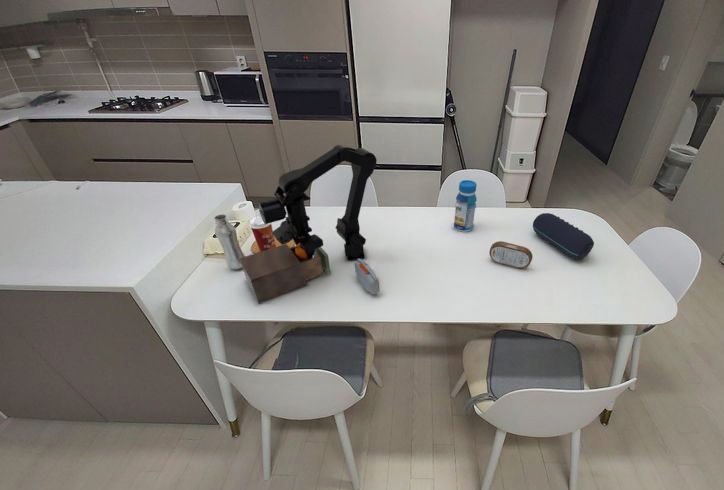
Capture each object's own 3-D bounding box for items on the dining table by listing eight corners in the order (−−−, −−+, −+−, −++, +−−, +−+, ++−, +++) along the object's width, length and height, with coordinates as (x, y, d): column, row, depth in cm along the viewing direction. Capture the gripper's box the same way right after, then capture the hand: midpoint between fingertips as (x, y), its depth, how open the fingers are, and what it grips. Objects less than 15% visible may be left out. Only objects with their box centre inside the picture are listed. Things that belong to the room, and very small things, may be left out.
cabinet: (291, 266, 126) (286, 243, 121) (306, 285, 117) (300, 262, 112) (247, 281, 119) (239, 258, 113) (258, 303, 110) (250, 280, 104)
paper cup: (273, 259, 130) (263, 226, 121) (254, 256, 131) (243, 224, 122) (283, 247, 136) (275, 215, 127) (265, 245, 137) (255, 213, 129)
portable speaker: (593, 259, 130) (602, 236, 125) (574, 266, 127) (582, 243, 121) (545, 228, 148) (551, 207, 143) (527, 234, 145) (532, 212, 139)
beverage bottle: (474, 232, 146) (480, 187, 134) (454, 232, 146) (458, 187, 134) (471, 222, 152) (477, 178, 140) (452, 222, 153) (456, 178, 141)
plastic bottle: (236, 273, 122) (217, 224, 110) (224, 267, 125) (205, 218, 113) (251, 264, 127) (235, 215, 115) (239, 259, 130) (222, 210, 118)
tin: (530, 267, 126) (535, 248, 121) (528, 272, 124) (533, 252, 119) (489, 257, 131) (492, 238, 126) (487, 261, 129) (490, 242, 124)
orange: (316, 241, 121) (301, 234, 116) (319, 255, 118) (304, 249, 113) (304, 251, 123) (288, 245, 118) (307, 265, 120) (291, 259, 115)
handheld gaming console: (381, 296, 113) (379, 277, 109) (373, 299, 112) (371, 280, 107) (361, 273, 123) (359, 254, 118) (354, 275, 122) (351, 257, 117)
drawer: (319, 255, 130) (316, 237, 126) (334, 271, 122) (331, 253, 117) (278, 269, 123) (273, 251, 118) (290, 288, 115) (285, 269, 110)
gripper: (260, 211, 111) (271, 252, 121) (285, 235, 100) (296, 277, 109) (292, 201, 117) (301, 240, 127) (320, 222, 106) (327, 264, 115)
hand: (305, 255), depth 119 cm, fingers closed on orange, 6 cm apart
